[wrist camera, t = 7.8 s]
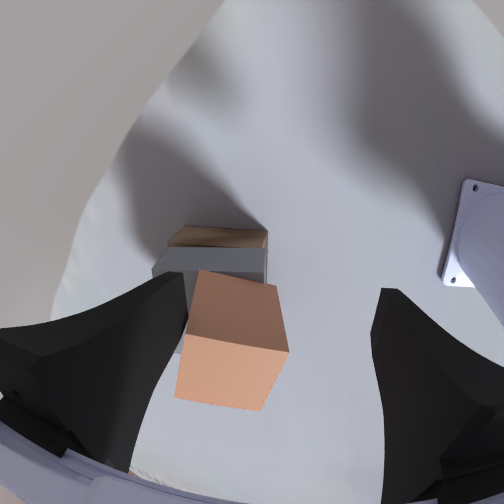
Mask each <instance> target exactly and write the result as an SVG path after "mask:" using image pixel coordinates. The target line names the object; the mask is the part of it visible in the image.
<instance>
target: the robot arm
mask: <svg viewBox="0 0 504 504" xmlns="http://www.w3.org/2000/svg"><path fill="white" fill-rule="evenodd" d="M474 185H476V189H475V190H474V191H473V186H474ZM453 277H455V278H454V280H453V281H451V279H452V278H453ZM441 281H442V283H443V284H444V285H446V286H461V287H475V288H476V289H477V290H478V292H479V293H480V294H481V296H482V297H483V298H484V300H485V301H486V302H487V304H488V305H489V307H490V308H491V309H492V311H493V312H494V314H495V315H496V317H497V318H498V320H499V321H500V323H501V324H502V326H503V327H504V187H502V186H498V185H494V184H490V183H485V182H481V181H476V180H472V179H466V180H464V182H463V184H462V189H461V195H460V201H459V206H458V212H457V217H456V221H455V226H454V231H453V235H452V239H451V243H450V247H449V251H448V255H447V259H446V263H445V266H444V270H443V273H442V277H441ZM188 318H189V315H188V308H187V300H186V292H185V284H184V275H183V273H181V272H171V271H168V272H165V273H163V274H161V275H159V276H157V277H155V278H153V279H151V280H149V281H147V282H145V283H143V284H142V285H140V286H138V287H136V288H134V289H132V290H130V291H129V292H127V293H125V294H123V295H120V296H118V297H116V298H114V299H112V300H110V301H108V302H106V303H104V304H102V305H99V306H97V307H95V308H92V309H89V310H87V311H84V312H81V313H79V314H75V315H72V316H68V317H65V318H62V319H58V320H55V321H50V322H46V323H41V324H35V325H29V326H21V327H11V328H1V329H0V392H1V393H2V394H3V396H4V397H3V398H2V399H1V400H0V484H2V485H3V486H4V487H6V488H7V489H8V490H9V491H11V492H12V493H13V494H14V495H16V496H17V497H18V498H20V499H21V500H23V501H24V502H25V503H27V504H247V503H241V502H234V501H228V500H223V499H217V498H212V497H207V496H203V495H198V494H194V493H190V492H186V491H182V490H178V489H174V488H171V487H167V486H164V485H160V484H157V483H154V482H150V481H147V480H144V479H141V478H138V477H135V476H132V475H130V474H128V472H129V467H130V463H131V459H132V454H133V451H134V447H135V443H136V440H137V436H138V433H139V430H140V427H141V424H142V421H143V418H144V415H145V412H146V409H147V406H148V404H149V401H150V399H151V396H152V393H153V391H154V389H155V387H156V385H157V382H158V380H159V379H160V377H161V375H162V373H163V371H164V369H165V368H166V366H167V364H168V362H169V360H170V358H171V357H172V355H173V353H174V351H175V349H176V347H177V346H178V344H179V342H180V340H181V338H182V335H183V332H184V330H185V327H186V324H187V321H188ZM370 336H371V348H372V357H373V362H374V367H375V372H376V377H377V381H378V386H379V391H380V396H381V401H382V407H383V415H384V436H385V459H384V478H383V490H382V498H381V504H504V367H502V366H500V365H498V364H496V363H494V362H492V361H490V360H488V359H487V358H485V357H483V356H481V355H480V354H478V353H476V352H475V351H473V350H471V349H470V348H468V347H467V346H466V345H464V344H463V343H461V342H460V341H458V340H457V339H456V338H454V337H453V336H452V335H450V334H449V333H448V332H447V331H445V330H444V329H443V328H442V327H440V326H439V325H438V324H437V323H436V322H435V321H433V320H432V319H431V318H430V317H429V316H428V315H427V314H426V313H424V312H423V311H422V310H421V309H420V308H419V307H418V306H417V305H416V304H415V303H413V302H412V301H411V300H410V299H409V298H408V297H407V296H406V295H405V294H403V293H402V292H401V291H400V290H398V289H394V288H381V292H380V297H379V301H378V305H377V309H376V313H375V317H374V321H373V325H372V329H371V332H370Z"/></svg>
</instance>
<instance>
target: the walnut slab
mask: <svg viewBox="0 0 504 504" xmlns="http://www.w3.org/2000/svg"><path fill="white" fill-rule="evenodd" d="M168 247H216V248H266V284H267V248H268V231H260V230H244V229H228V228H211V227H193V226H184V227H183V228H182V229H181V230H180V231H179V232H178V233H177V234H176V235H175V236H174V237H173V238H172V239H171V240H170V241H169V242H168Z"/></svg>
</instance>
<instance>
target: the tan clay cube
mask: <svg viewBox="0 0 504 504" xmlns="http://www.w3.org/2000/svg"><path fill="white" fill-rule="evenodd" d="M288 354H289V348H288V343H287V338H286V333H285V328H284V323H283V317H282V312H281V307H280V302H279V297H278V292H277V287H276V286H274V285H270V284H265V283H260V282H256V281H251V280H246V279H242V278H237V277H232V276H228V275H223V274H219V273H214V272H210V271H205V270H201V269H199V273H198V278H197V282H196V286H195V291H194V295H193V300H192V304H191V309H190V314H189V318H188V323H187V328H186V332H185V338H184V343H183V349H182V354H181V360H180V366H179V371H178V377H177V383H176V389H175V396H174V397H175V398H180V399H185V400H190V401H195V402H201V403H206V404H212V405H218V406H225V407H231V408H239V409H246V410H254V411H261V409H262V407H263V405H264V403H265V401H266V399H267V397H268V395H269V393H270V391H271V389H272V387H273V385H274V383H275V381H276V379H277V377H278V375H279V373H280V371H281V369H282V367H283V365H284V363H285V361H286V358H287V356H288Z"/></svg>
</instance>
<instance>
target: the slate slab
mask: <svg viewBox="0 0 504 504" xmlns="http://www.w3.org/2000/svg"><path fill="white" fill-rule="evenodd" d="M199 269H201V270H205V271H210V272H214V273H219V274H223V275H228V276H232V277H237V278H242V279H246V280H251V281H256V282H260V283H265V284H266V248H216V247H168V248H167V249H166V251H165V252H164V253H163V255H162V256H161V257H160V259H159V260H158V261H157V262H156V264H155V265H154V266H153V268H152V275H153V278H155V277H157V276H159V275H161V274H163V273H165V272H168V271H171V272H181V273H183V275H184V284H185V292H186V300H187V308H188V315H189V314H190V309H191V304H192V300H193V295H194V291H195V286H196V282H197V278H198V273H199ZM187 323H188V321H187ZM186 328H187V324H186V327H185V330H184V332H183V335H182V338H181V340H180V342H179V344H178V346H177V347H176V349H175V351H174V353H179V354H182V349H183V343H184V338H185V332H186Z"/></svg>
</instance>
